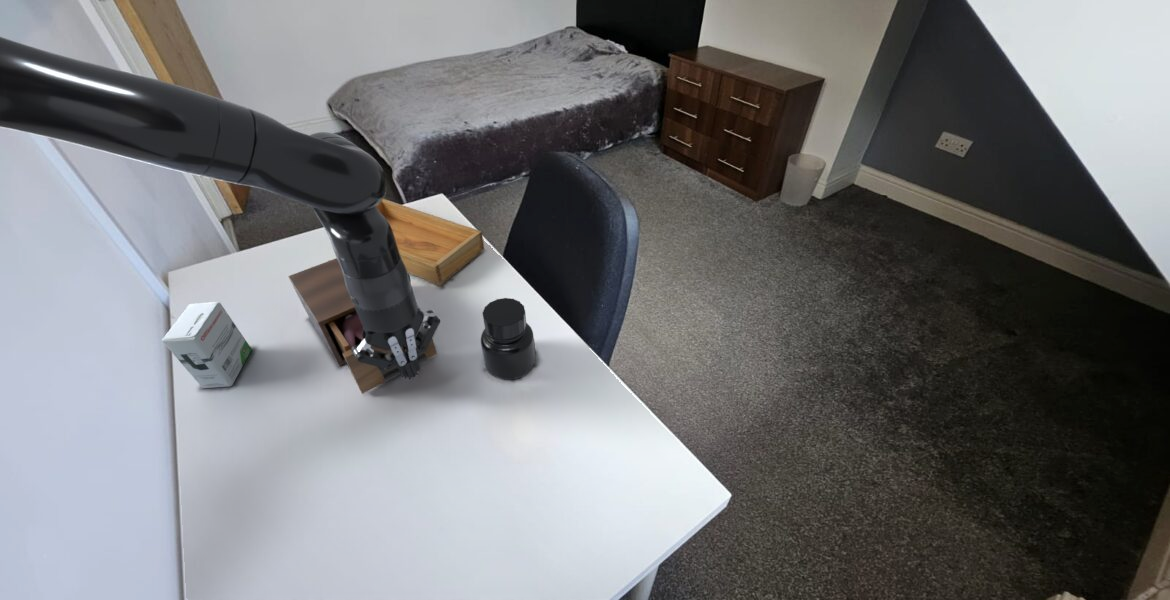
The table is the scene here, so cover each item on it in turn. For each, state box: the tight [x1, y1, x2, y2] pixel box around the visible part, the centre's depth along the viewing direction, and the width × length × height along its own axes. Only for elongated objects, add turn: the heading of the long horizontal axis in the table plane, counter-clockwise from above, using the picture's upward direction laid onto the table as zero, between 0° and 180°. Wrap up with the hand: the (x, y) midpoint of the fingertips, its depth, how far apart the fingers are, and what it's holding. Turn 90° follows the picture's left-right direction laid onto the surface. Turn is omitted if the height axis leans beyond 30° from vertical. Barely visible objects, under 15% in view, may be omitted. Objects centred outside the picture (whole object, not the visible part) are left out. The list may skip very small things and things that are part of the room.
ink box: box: [161, 301, 253, 389], centre depth 77 cm, size 9×5×12 cm, turn 6°
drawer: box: [326, 311, 438, 394], centre depth 79 cm, size 19×13×9 cm
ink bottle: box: [480, 297, 536, 380], centre depth 79 cm, size 10×9×12 cm
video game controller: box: [341, 312, 363, 348], centre depth 83 cm, size 10×5×7 cm
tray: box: [376, 198, 485, 286], centre depth 106 cm, size 31×15×6 cm, turn 62°
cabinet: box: [288, 257, 356, 367], centre depth 86 cm, size 16×15×11 cm
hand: (411, 374), depth 73 cm, fingers closed
